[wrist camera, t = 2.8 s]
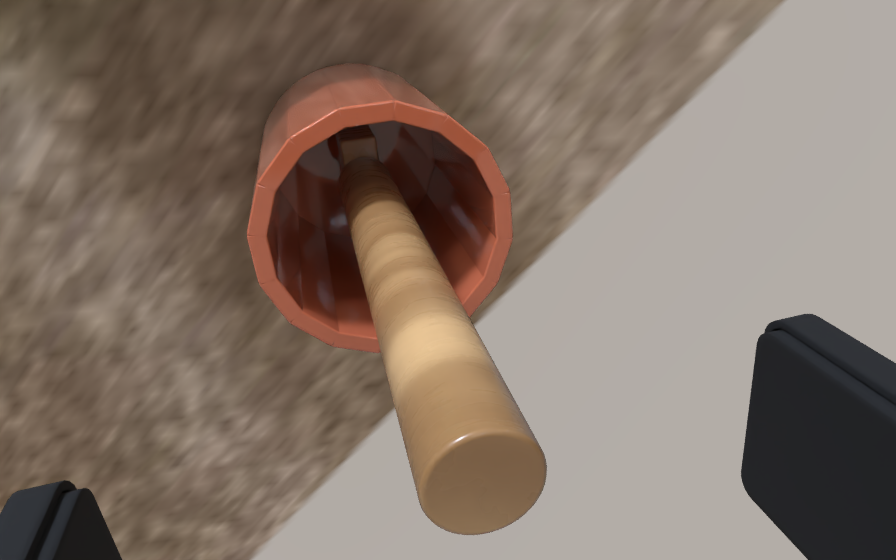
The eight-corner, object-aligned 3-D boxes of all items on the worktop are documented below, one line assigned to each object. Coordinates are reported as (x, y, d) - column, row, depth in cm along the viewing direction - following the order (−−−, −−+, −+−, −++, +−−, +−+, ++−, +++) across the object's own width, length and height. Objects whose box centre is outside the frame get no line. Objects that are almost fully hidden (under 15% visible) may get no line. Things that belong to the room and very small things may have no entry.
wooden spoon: (325, 125, 24) (405, 410, 8) (374, 118, 24) (545, 379, 8) (339, 202, 25) (432, 581, 9) (384, 194, 25) (552, 549, 9)
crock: (432, 51, 24) (504, 84, 16) (450, 225, 27) (518, 326, 19) (241, 76, 23) (218, 124, 15) (282, 255, 26) (281, 374, 18)
